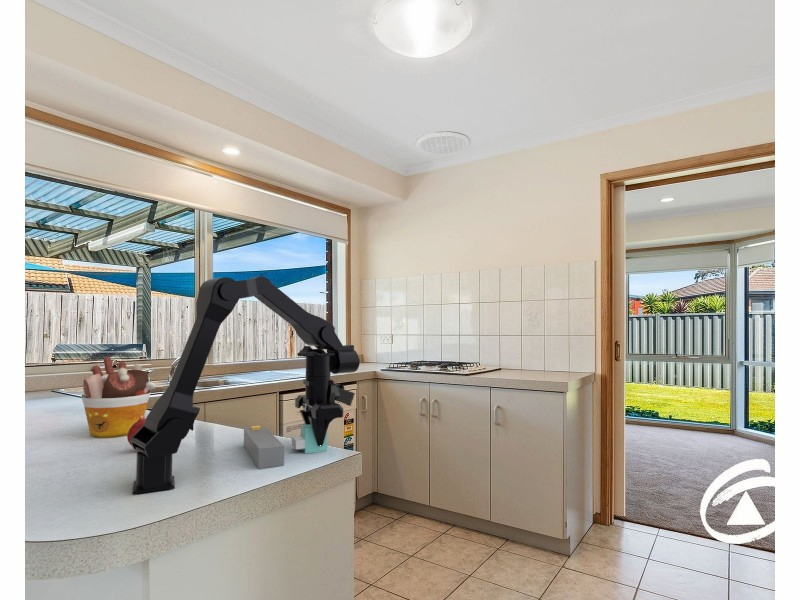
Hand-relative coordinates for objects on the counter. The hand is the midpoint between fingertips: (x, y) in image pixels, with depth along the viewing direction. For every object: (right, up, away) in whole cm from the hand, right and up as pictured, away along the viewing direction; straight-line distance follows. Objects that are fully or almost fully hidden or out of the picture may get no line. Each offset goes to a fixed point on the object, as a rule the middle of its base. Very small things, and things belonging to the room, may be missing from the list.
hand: (317, 443), depth 109 cm
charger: (-2, -1, -1) cm, 2 cm away
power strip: (-12, -1, -3) cm, 13 cm away
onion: (-40, -2, -1) cm, 40 cm away
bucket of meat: (-57, -3, +17) cm, 60 cm away
